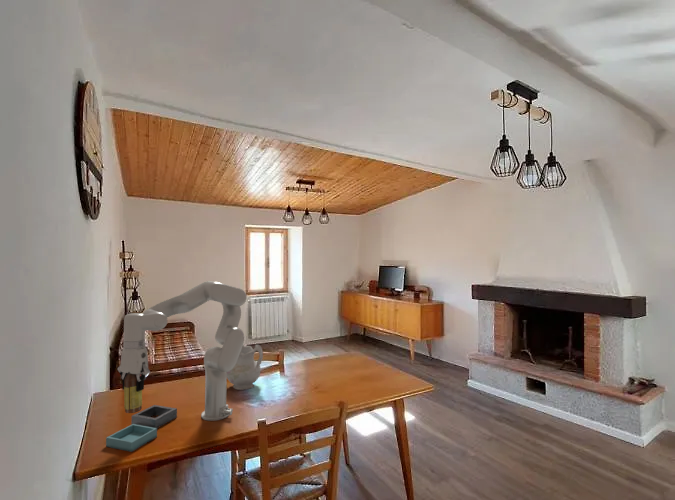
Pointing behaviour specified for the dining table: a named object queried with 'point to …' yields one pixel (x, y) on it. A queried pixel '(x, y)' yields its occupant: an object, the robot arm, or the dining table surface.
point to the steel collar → (146, 420)
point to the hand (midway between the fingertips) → (133, 389)
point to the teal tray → (131, 437)
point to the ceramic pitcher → (246, 368)
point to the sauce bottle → (132, 394)
